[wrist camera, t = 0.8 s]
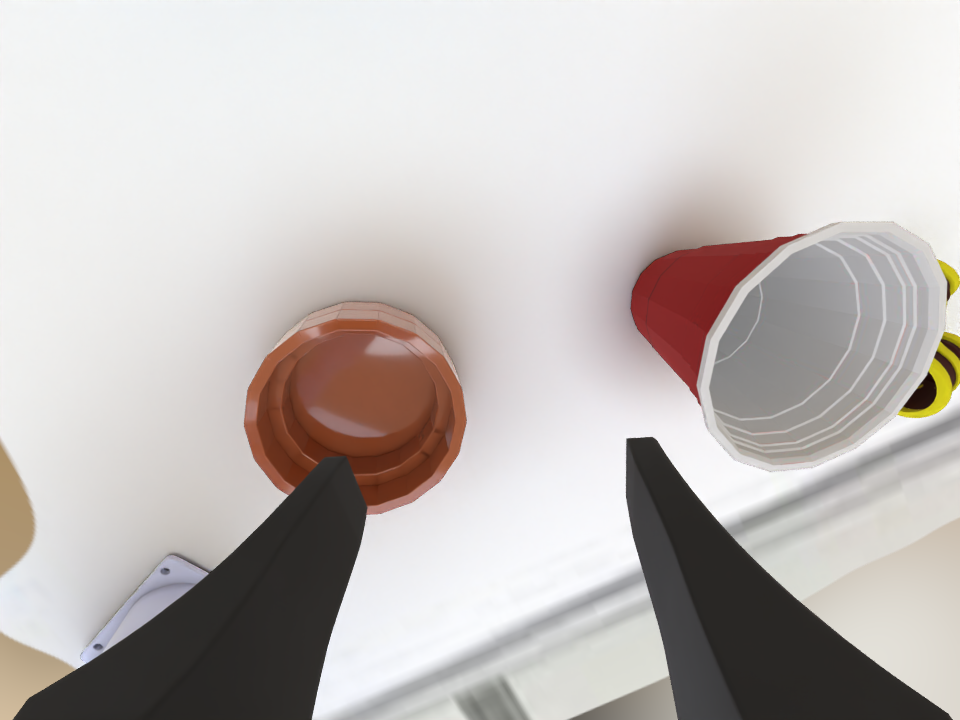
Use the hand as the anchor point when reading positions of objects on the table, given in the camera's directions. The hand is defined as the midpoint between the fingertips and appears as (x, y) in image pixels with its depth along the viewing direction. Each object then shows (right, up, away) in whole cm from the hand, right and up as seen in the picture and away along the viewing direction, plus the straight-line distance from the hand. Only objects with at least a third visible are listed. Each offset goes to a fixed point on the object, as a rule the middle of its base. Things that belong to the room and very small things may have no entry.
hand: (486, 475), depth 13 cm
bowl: (-7, +1, +16) cm, 18 cm away
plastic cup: (+12, +7, +18) cm, 23 cm away
